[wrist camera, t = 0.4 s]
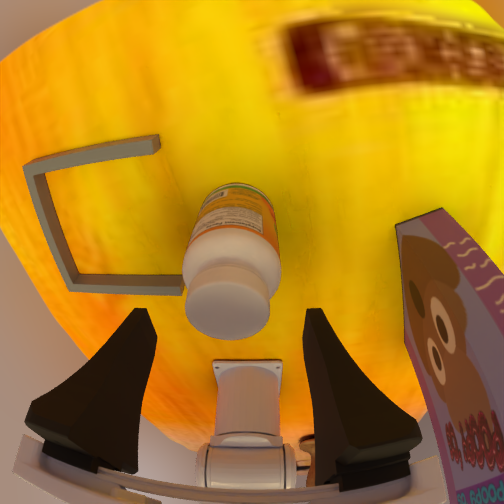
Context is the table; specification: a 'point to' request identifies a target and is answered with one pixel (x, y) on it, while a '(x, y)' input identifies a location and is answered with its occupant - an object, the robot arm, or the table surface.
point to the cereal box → (457, 350)
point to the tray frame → (54, 232)
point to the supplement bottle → (232, 263)
